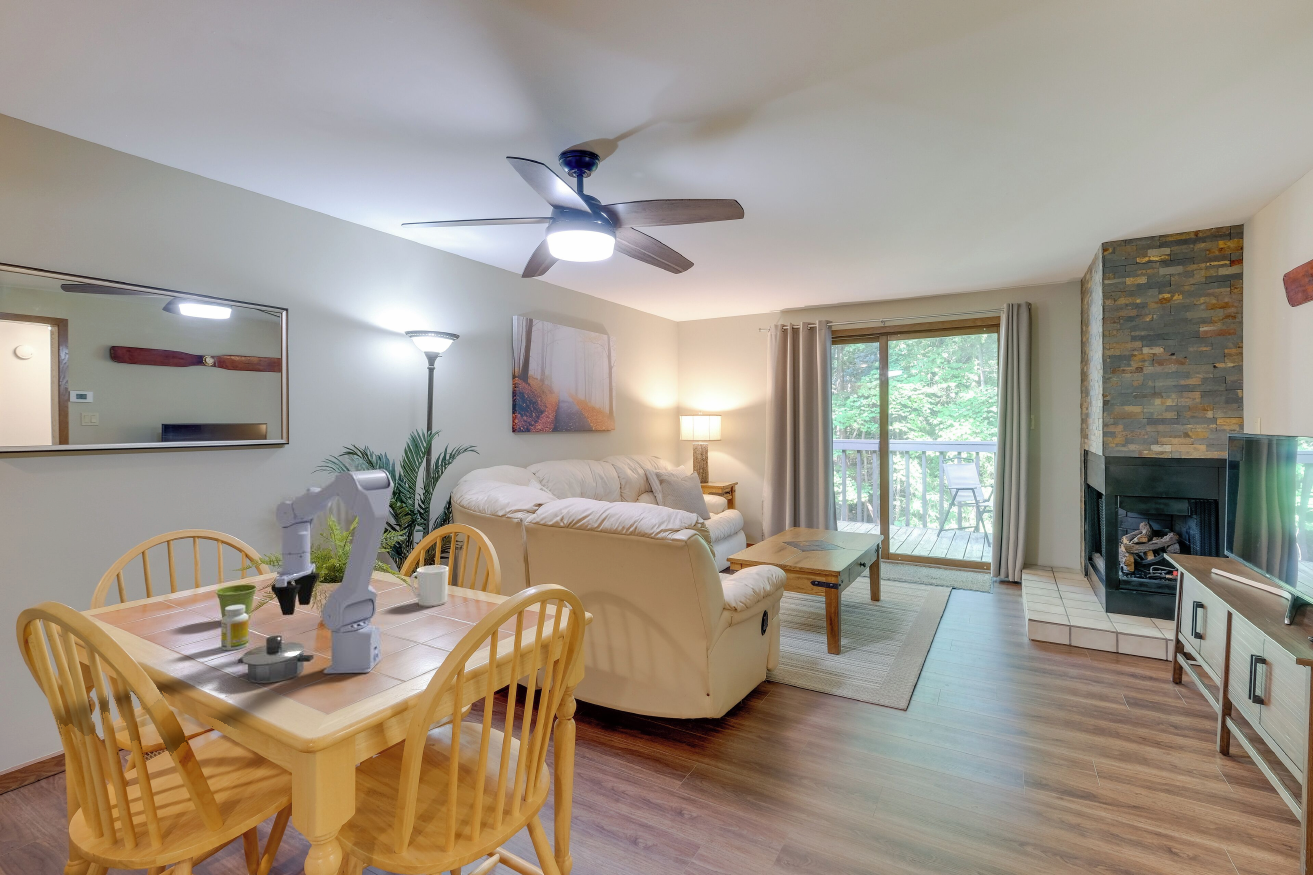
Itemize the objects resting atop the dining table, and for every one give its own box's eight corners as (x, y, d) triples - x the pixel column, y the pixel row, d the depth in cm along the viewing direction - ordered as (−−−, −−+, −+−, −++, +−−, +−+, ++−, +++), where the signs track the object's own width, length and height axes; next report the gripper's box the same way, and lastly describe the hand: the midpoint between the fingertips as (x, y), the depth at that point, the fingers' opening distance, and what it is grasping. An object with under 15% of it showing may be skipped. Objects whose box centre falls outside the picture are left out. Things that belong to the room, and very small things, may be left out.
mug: (441, 597, 190) (441, 563, 189) (453, 603, 183) (453, 569, 183) (404, 603, 182) (404, 569, 182) (416, 610, 176) (416, 575, 175)
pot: (322, 663, 137) (322, 645, 137) (300, 682, 127) (300, 663, 127) (253, 665, 136) (253, 647, 135) (225, 684, 126) (225, 665, 126)
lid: (314, 650, 137) (314, 629, 137) (284, 670, 125) (284, 647, 125) (264, 649, 137) (264, 628, 137) (229, 670, 126) (229, 646, 125)
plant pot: (261, 613, 172) (261, 582, 171) (251, 624, 163) (251, 592, 162) (222, 616, 169) (222, 585, 168) (209, 627, 160) (209, 594, 159)
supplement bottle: (216, 651, 144) (216, 610, 143) (229, 642, 149) (229, 603, 149) (240, 650, 144) (240, 610, 144) (253, 642, 150) (253, 603, 149)
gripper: (294, 545, 150) (294, 600, 151) (260, 558, 136) (261, 619, 136) (324, 545, 151) (324, 600, 151) (294, 558, 136) (294, 619, 137)
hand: (296, 609), depth 144 cm, fingers open, 7 cm apart
